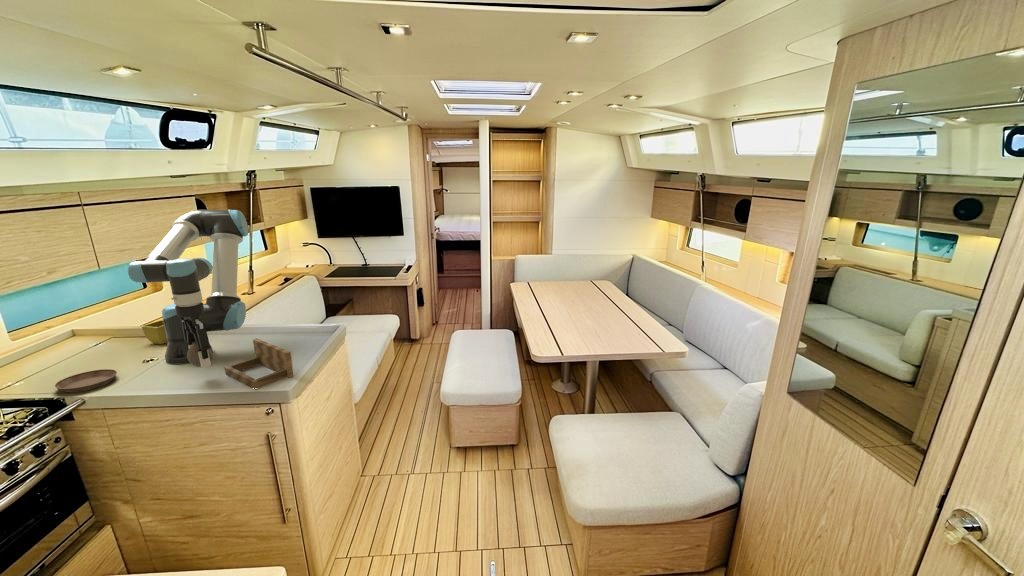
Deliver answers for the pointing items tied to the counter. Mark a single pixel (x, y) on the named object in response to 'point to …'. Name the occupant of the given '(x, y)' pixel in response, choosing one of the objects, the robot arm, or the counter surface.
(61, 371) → the counter surface
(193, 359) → the vase
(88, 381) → the saucer
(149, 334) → the flower pot
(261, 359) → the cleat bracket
